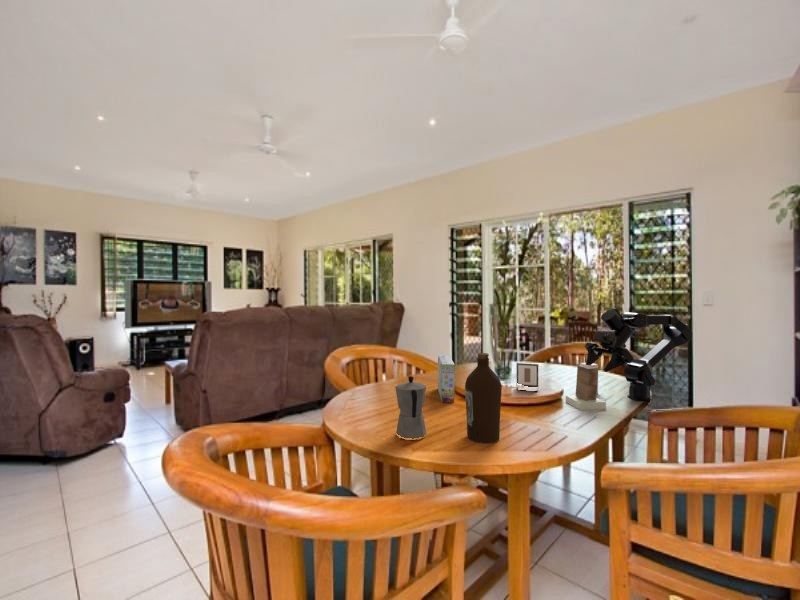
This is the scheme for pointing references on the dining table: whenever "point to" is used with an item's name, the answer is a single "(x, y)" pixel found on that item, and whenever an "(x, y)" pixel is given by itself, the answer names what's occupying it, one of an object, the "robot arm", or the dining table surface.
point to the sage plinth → (585, 403)
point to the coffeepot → (411, 409)
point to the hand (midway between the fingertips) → (595, 368)
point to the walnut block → (586, 382)
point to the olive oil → (483, 402)
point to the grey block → (594, 366)
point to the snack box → (446, 378)
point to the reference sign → (527, 374)
